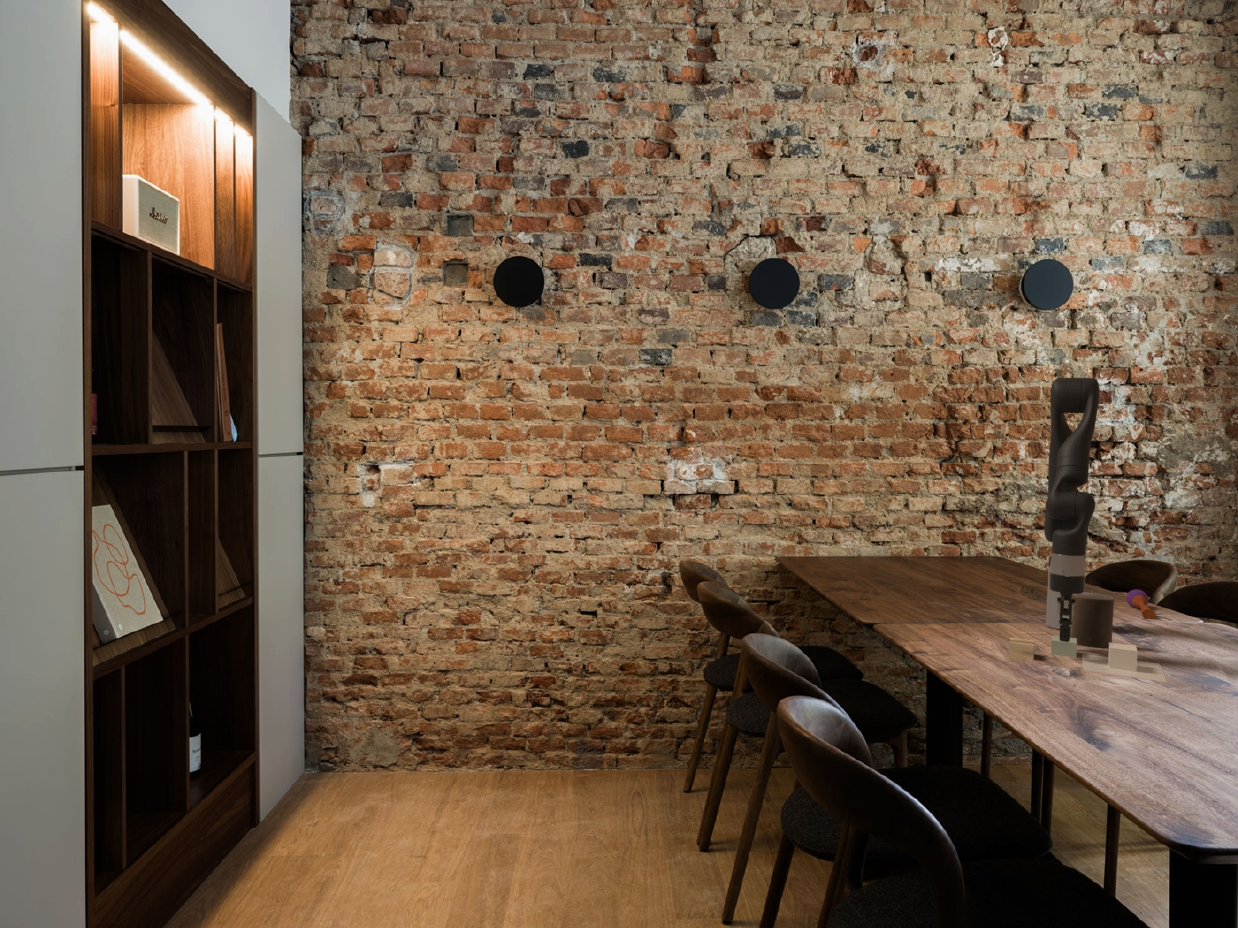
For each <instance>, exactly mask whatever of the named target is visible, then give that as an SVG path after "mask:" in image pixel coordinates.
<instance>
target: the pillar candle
mask: <svg viewBox="0 0 1238 928" xmlns="http://www.w3.org/2000/svg"><path fill="white" fill-rule="evenodd" d="M1072 599H1075V608H1074V618H1073V619H1071V622H1072V625H1071V627H1070V638H1077V646H1081V647H1086V648H1094V649H1109V643H1113V627H1114V625H1113V624H1114V606H1115V597H1113V596H1110V595H1108V594H1102V593H1096V592H1093V590H1091V592H1086V591H1084V592H1083V593H1081V594H1072Z"/></svg>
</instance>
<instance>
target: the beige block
mask: <svg viewBox="0 0 1238 928" xmlns="http://www.w3.org/2000/svg"><path fill="white" fill-rule="evenodd" d="M1138 653H1139V652H1138V648H1137V646H1136V645H1132V644H1124V643H1117V642H1112V643H1109V648H1108V653H1107V654H1108V656H1107V657H1108V665H1109V668H1112V669H1119V670H1126V671H1134V672H1137V661H1138Z"/></svg>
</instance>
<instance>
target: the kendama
mask: <svg viewBox="0 0 1238 928" xmlns="http://www.w3.org/2000/svg"><path fill="white" fill-rule="evenodd" d="M1149 599H1150V598H1149V596H1148V595H1147V593H1146V592H1145V591H1143V590H1141V589H1136V588H1135V589H1132V590H1130V591H1129V592H1127V594H1126V599H1125V600H1126V602H1127V604H1128V605H1129V606H1130V607H1132V608H1135V609H1140V612H1141V615H1142V617H1143V618H1144V619H1147V620H1153V619H1154V618H1155V617H1156V612H1155V611H1154V610H1153V609H1152V608H1150V607H1149V606H1147V605H1148V603H1149Z"/></svg>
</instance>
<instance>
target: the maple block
mask: <svg viewBox="0 0 1238 928" xmlns="http://www.w3.org/2000/svg"><path fill="white" fill-rule="evenodd" d="M1035 646H1036V640H1032V639H1024V638H1017V637H1010V638H1009V642H1008V659H1007V660H1008V661H1007V662H1009V663H1016V664H1025V663H1026V660H1031V661H1034V660H1035V659H1034V658H1035V650H1036V649H1035V648H1036V647H1035Z"/></svg>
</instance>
